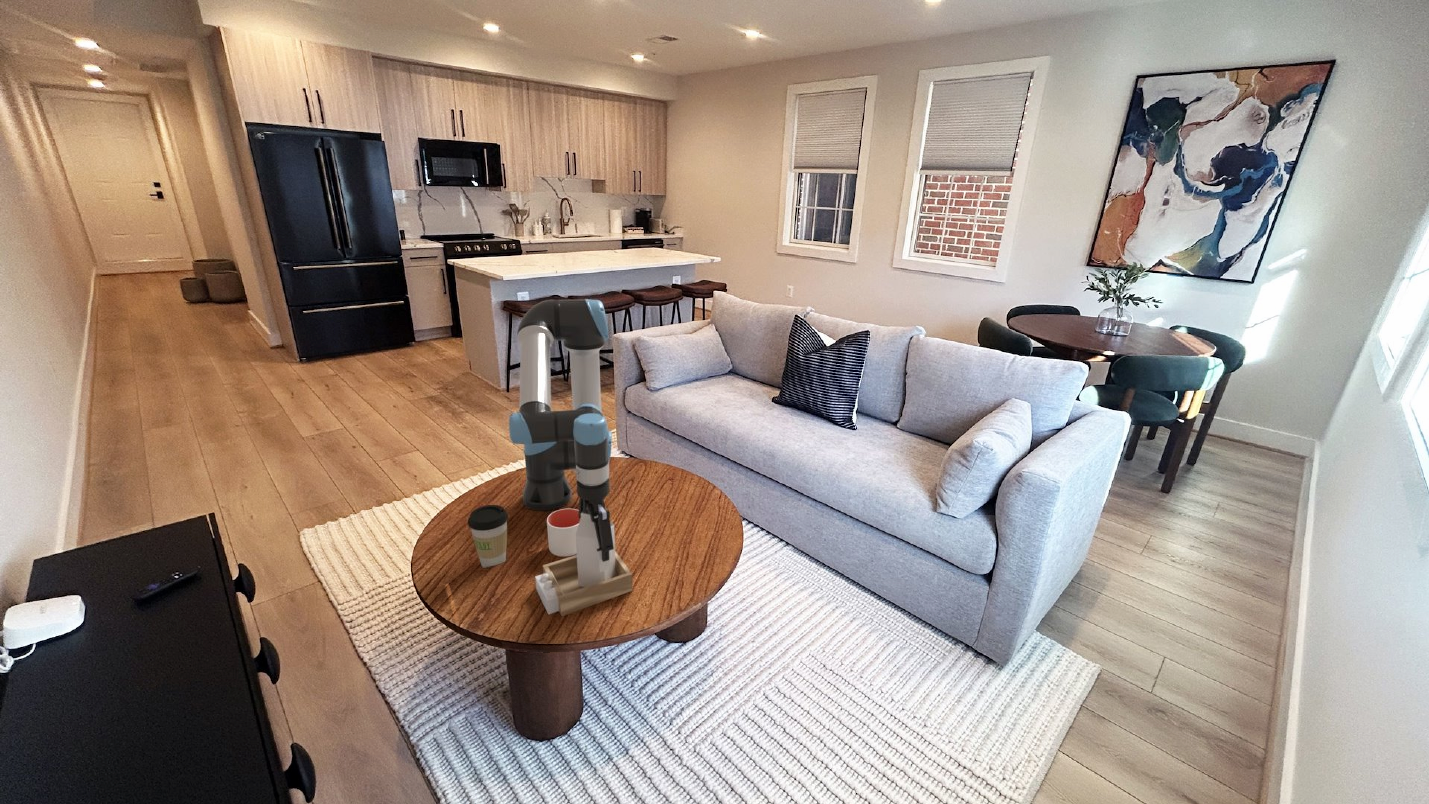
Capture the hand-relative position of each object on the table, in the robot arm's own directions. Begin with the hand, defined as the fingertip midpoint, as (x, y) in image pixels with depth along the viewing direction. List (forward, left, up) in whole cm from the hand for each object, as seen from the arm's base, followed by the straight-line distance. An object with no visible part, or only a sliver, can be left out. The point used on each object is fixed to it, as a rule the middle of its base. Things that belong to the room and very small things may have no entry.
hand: (596, 557), depth 138 cm
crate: (0, -3, -9) cm, 9 cm away
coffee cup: (-23, -21, -9) cm, 32 cm away
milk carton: (0, 0, -7) cm, 7 cm away
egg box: (0, -12, -8) cm, 14 cm away
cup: (-19, -2, -9) cm, 21 cm away
